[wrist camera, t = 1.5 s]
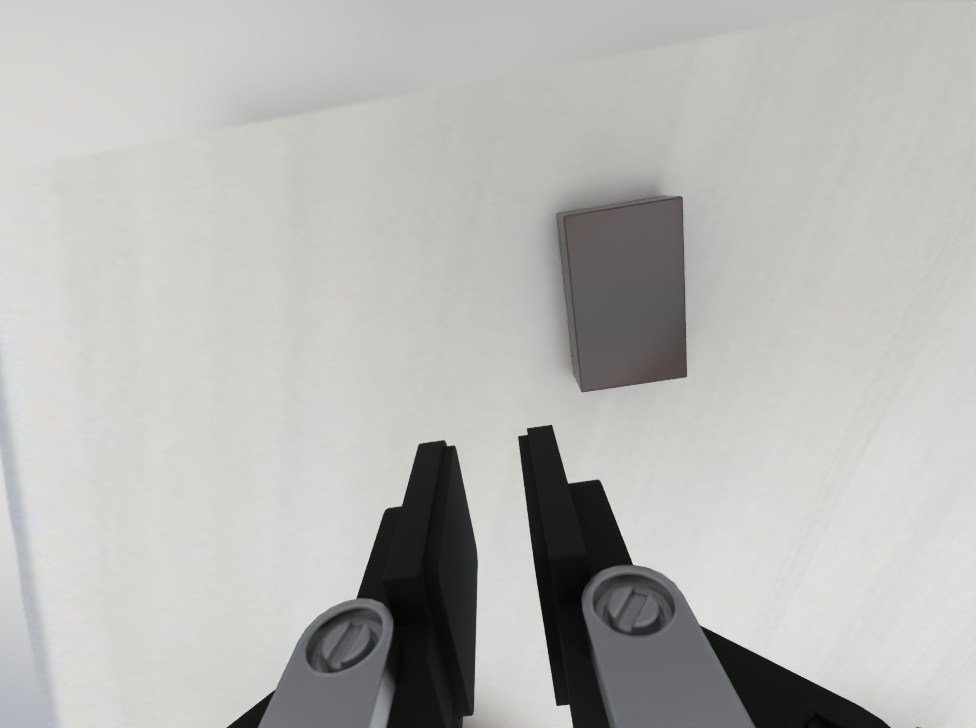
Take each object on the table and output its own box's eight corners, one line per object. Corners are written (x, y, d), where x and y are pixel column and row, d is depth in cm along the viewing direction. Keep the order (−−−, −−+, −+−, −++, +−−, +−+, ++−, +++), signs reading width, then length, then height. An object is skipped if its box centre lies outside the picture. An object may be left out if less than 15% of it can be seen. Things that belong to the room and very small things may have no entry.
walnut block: (556, 213, 25) (563, 216, 23) (664, 195, 25) (683, 195, 22) (573, 376, 28) (581, 393, 26) (670, 361, 28) (687, 377, 25)
